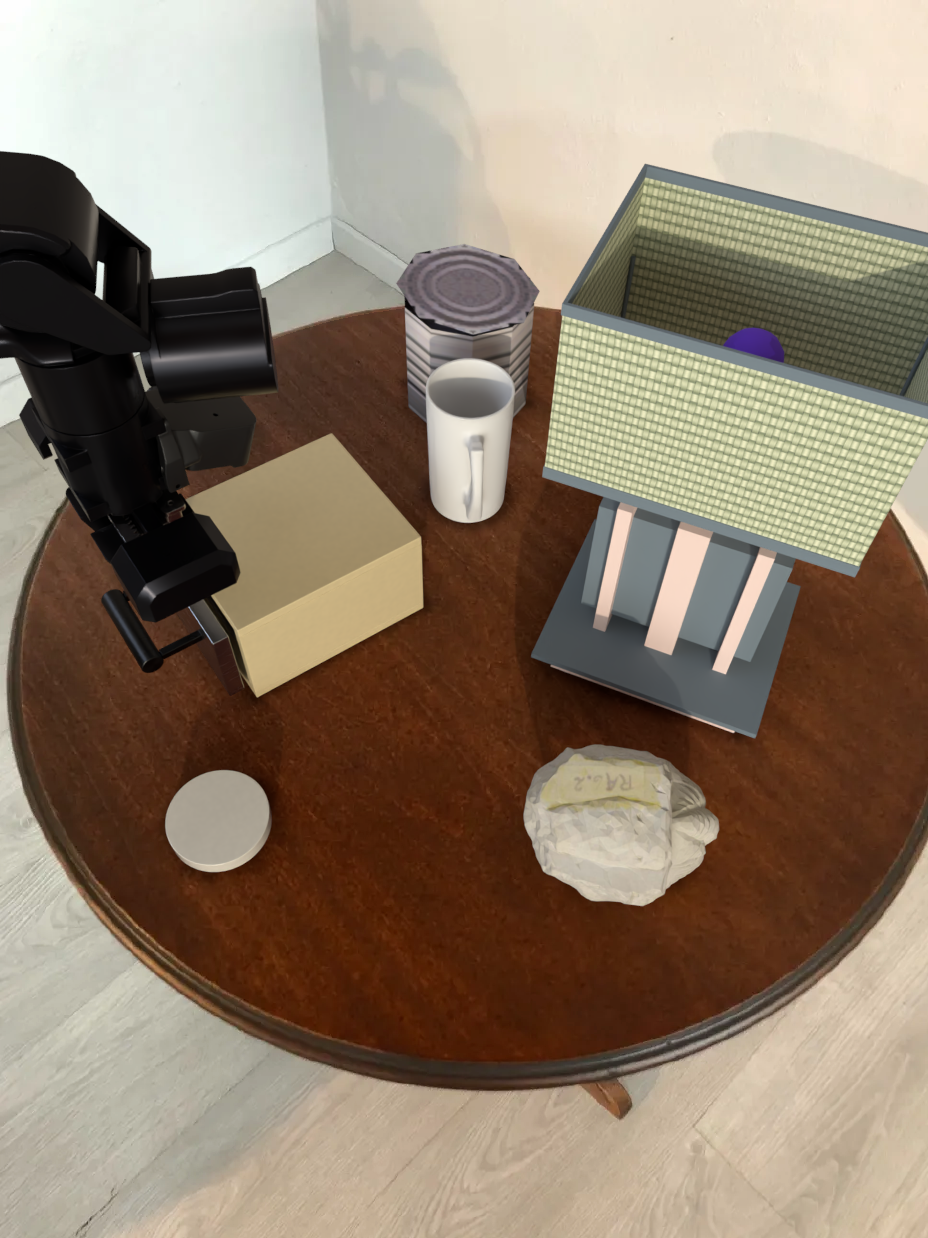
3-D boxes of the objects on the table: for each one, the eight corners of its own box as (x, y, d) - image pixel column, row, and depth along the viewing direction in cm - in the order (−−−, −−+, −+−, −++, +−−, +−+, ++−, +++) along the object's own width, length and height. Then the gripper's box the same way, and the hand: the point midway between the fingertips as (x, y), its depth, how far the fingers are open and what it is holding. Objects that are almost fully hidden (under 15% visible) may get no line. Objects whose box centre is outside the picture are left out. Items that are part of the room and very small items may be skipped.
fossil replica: (729, 887, 67) (653, 767, 73) (764, 822, 60) (678, 697, 66) (565, 952, 63) (499, 820, 69) (585, 890, 57) (511, 751, 63)
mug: (425, 468, 88) (422, 359, 78) (502, 464, 88) (509, 355, 78) (433, 559, 82) (431, 454, 72) (515, 554, 82) (525, 449, 73)
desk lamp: (519, 668, 76) (560, 307, 49) (581, 535, 84) (646, 160, 57) (758, 756, 72) (943, 415, 45) (801, 608, 80) (981, 242, 53)
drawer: (171, 728, 72) (148, 677, 66) (106, 619, 77) (80, 563, 71) (388, 612, 78) (384, 556, 72) (314, 518, 83) (305, 459, 78)
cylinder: (198, 895, 66) (193, 885, 64) (154, 815, 69) (147, 803, 67) (291, 839, 68) (288, 828, 66) (243, 764, 71) (239, 752, 70)
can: (423, 342, 97) (421, 231, 88) (539, 363, 96) (550, 253, 86) (388, 422, 91) (382, 312, 81) (512, 447, 89) (520, 337, 80)
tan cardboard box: (257, 697, 74) (237, 631, 67) (181, 584, 80) (156, 511, 73) (423, 607, 79) (421, 536, 72) (341, 507, 85) (331, 432, 78)
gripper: (304, 442, 54) (330, 613, 67) (155, 263, 63) (203, 444, 75) (107, 531, 50) (174, 695, 63) (-23, 327, 59) (60, 507, 72)
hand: (156, 574), depth 68 cm, fingers closed
